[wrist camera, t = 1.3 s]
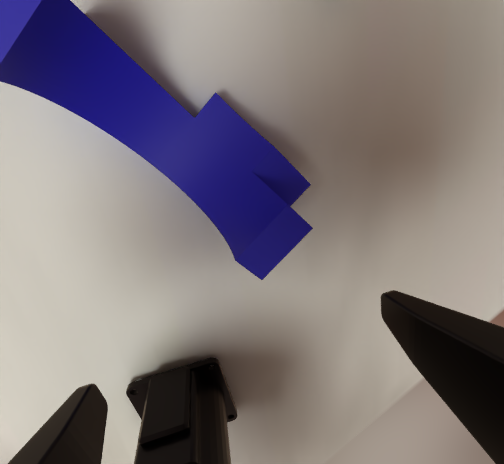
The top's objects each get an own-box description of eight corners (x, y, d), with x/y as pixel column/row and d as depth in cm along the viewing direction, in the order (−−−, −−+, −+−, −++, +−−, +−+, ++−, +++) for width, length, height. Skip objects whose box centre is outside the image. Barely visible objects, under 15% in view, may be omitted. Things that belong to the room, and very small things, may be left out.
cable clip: (291, 174, 16) (340, 200, 11) (240, 229, 17) (261, 280, 11) (105, -14, 12) (24, -136, 6) (46, 71, 12) (-75, 31, 7)
